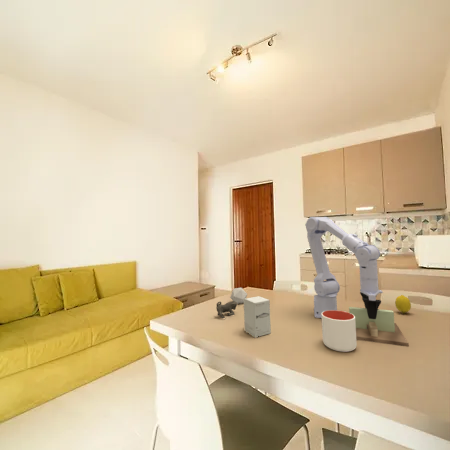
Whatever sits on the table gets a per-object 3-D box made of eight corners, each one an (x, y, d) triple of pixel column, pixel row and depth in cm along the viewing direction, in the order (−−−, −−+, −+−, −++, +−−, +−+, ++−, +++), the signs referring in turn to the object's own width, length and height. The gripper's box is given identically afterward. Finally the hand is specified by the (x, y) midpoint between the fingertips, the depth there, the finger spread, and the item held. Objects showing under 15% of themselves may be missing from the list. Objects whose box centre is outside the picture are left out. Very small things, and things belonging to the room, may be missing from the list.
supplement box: (255, 338, 86) (253, 302, 86) (244, 331, 92) (242, 298, 93) (271, 333, 89) (270, 299, 90) (259, 327, 96) (258, 295, 96)
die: (243, 300, 136) (232, 287, 137) (252, 295, 131) (241, 281, 131) (236, 309, 130) (224, 295, 130) (245, 304, 124) (234, 290, 125)
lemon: (414, 315, 102) (413, 296, 102) (399, 315, 103) (398, 296, 103) (407, 311, 107) (406, 293, 108) (393, 311, 108) (392, 293, 109)
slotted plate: (350, 327, 90) (349, 308, 90) (349, 325, 92) (348, 306, 92) (395, 332, 84) (393, 312, 84) (393, 330, 86) (392, 310, 86)
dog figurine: (221, 320, 105) (220, 303, 105) (213, 317, 109) (213, 300, 110) (241, 314, 112) (241, 298, 112) (234, 311, 117) (233, 296, 117)
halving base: (345, 337, 84) (344, 326, 84) (343, 320, 100) (343, 310, 100) (408, 346, 76) (407, 333, 76) (395, 325, 92) (395, 315, 92)
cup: (355, 356, 71) (353, 322, 72) (320, 349, 76) (318, 317, 77) (357, 342, 80) (356, 312, 80) (325, 336, 85) (324, 308, 85)
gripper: (385, 282, 80) (387, 323, 80) (378, 275, 94) (380, 310, 93) (361, 281, 83) (363, 321, 83) (357, 274, 97) (359, 308, 96)
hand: (370, 315), depth 88 cm, fingers open, 7 cm apart
